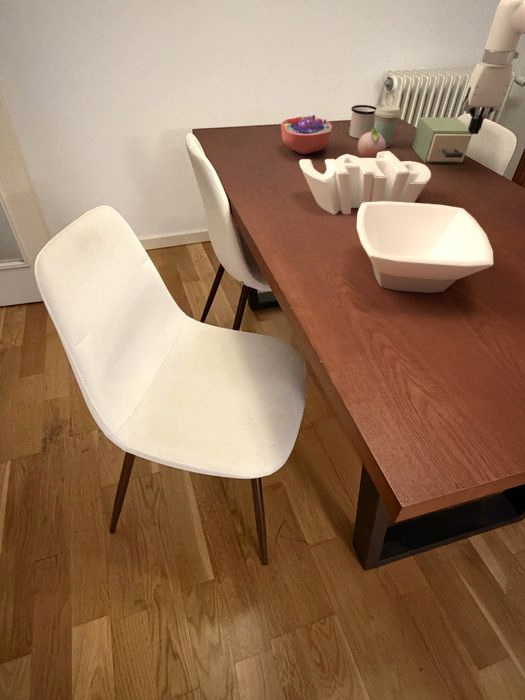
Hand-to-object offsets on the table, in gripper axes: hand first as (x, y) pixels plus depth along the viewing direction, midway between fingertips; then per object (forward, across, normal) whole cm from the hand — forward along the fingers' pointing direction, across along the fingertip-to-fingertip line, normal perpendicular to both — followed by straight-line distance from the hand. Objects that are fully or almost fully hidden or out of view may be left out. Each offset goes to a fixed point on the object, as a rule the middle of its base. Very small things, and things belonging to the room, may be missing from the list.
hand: (473, 132), depth 120 cm
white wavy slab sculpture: (+10, +37, +23) cm, 44 cm away
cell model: (+10, +49, -16) cm, 52 cm away
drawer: (+10, +4, -9) cm, 14 cm away
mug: (+10, +26, -34) cm, 44 cm away
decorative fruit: (+10, +29, -6) cm, 31 cm away
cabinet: (+11, +4, -13) cm, 17 cm away
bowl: (+11, +34, +58) cm, 68 cm away
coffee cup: (+10, +20, -22) cm, 32 cm away
